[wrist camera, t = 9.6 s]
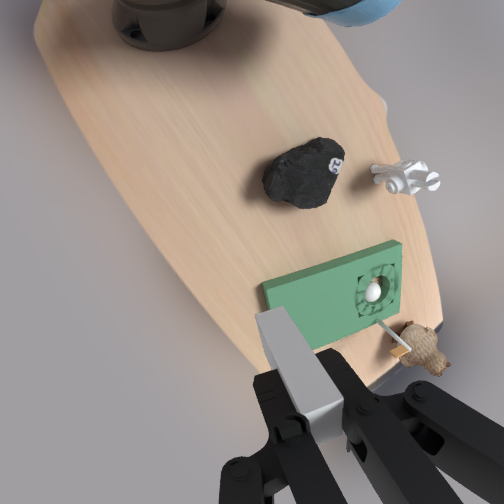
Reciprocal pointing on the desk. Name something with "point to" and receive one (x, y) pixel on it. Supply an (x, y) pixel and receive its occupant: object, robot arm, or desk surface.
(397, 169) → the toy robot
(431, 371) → the figurine
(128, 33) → the robot arm
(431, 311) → the desk surface
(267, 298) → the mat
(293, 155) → the rock
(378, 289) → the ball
